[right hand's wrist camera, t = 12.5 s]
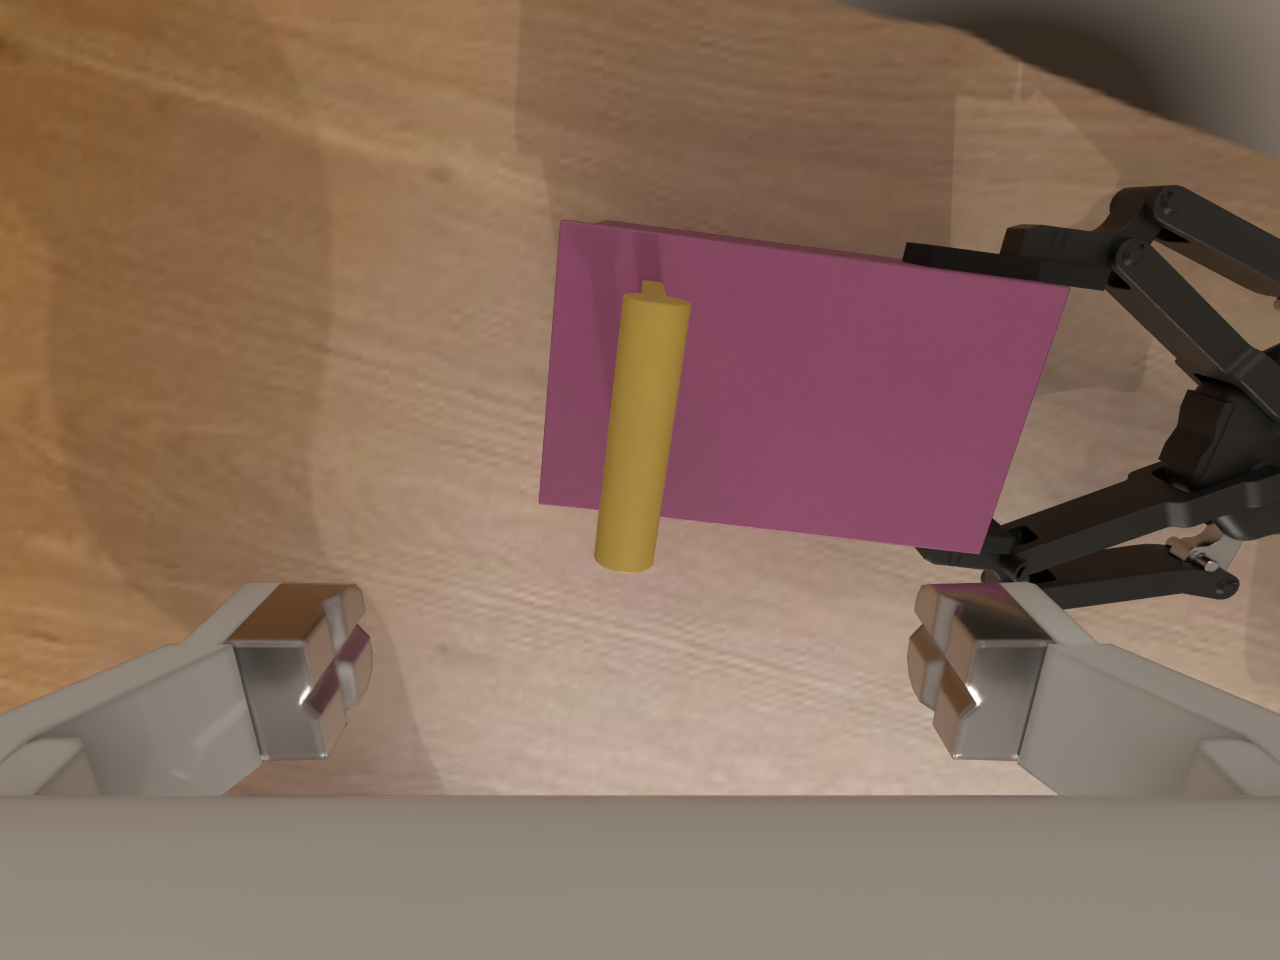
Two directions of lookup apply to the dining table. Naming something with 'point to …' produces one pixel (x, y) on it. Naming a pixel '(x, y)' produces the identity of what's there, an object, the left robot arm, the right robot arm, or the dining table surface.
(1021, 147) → the dining table surface
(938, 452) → the lid
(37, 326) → the dining table surface
